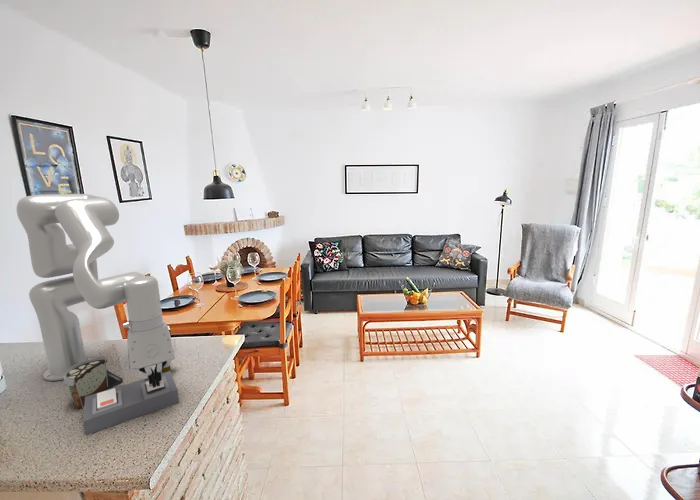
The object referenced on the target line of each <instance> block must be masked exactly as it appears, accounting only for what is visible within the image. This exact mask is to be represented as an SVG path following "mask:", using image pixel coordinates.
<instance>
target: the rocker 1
mask: <svg viewBox="0 0 700 500" xmlns="http://www.w3.org/2000/svg"><path fill="white" fill-rule="evenodd" d="M115 388H116V387H113V388H111V389H110V390H106V391H103V392H100V393H97V408H98V411H99V410H102V409H105V408H108V407H111V406H114V405H117V398H116V389H115Z"/></svg>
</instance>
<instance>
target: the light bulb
mask: <svg viewBox="0 0 700 500" xmlns="http://www.w3.org/2000/svg"><path fill="white" fill-rule="evenodd" d="M173 353H174V354H175V349H174V348H173ZM171 365H172V361H170V362H168V363H166V365H165V366H164V367H163V368H162V371H161V374H162V373H165V372H168V371H171V370H172V369H171V368H172V367H171Z"/></svg>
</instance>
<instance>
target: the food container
mask: <svg viewBox="0 0 700 500" xmlns="http://www.w3.org/2000/svg"><path fill="white" fill-rule="evenodd" d="M108 362H109V361H108V359H107V357H106V356H100V357H94V358H89V360H86V361H83V362H80V363H78V364H76V365H74V366H72V367H71V368H69V369H68V370H67V371H66V373H65V375H64V380H63V383H64V385H66V386H68V389H69V392H70V396H71V398H72V400H73V403H74V407H76V408H77V409H83V410H84V404H85V397H86V396H90V395H93V394H96V393H99V392H103V389H105V388H106V387H108V379H107V371H108V370H107V368H108V367H107V363H108Z"/></svg>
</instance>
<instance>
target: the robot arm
mask: <svg viewBox="0 0 700 500" xmlns="http://www.w3.org/2000/svg"><path fill="white" fill-rule="evenodd" d="M16 215H17V218H18V221H20V224H21V225H22V227H23V229H24V230H25V233H26V235H27V240H28V247H29V255H30V260H31V268H32V270H33V272H34V274H35V275H36V277H38V278H42V279H46V278H47V279H49V278H54V277H60V278H55V279H50V280H45V281H42V282H40V283H37V284H36V285H33V287H31V289H30V290H29V293H28V296H29V300H30V303H31V305H32V308H33V309H34V311H35V314H36V317H37V320H38V323H39V329H40V333H41V338H42V342H43V343H42V344H43V347H44V351H45V356H46V360H47V361H46V362H47V365H48V368H47V369H45V371H44V373H43V379H44V380H46V381H49V382H54V381H64V375H65V373H66V371H67V370H68V369H69V368H71V367H72V366H74V365H76V364H78V363H80V362H83V361H86V360H89V359H90V358H88V357H86V351H85V347H84V341H83V337H82V336H83V335H82V330H81V324H80V319H79V317H78V315H77V314H76V313H74V312H72V311H71V310H69V309H68V307H71V306H74V305H77V304H80V303H84V302H86V303H87V304H88V306H90V307H91V308H93V309H96V310H101V309H106V308H110V307H115V306H116V305H120V304H123V303H126V308H127V314H128V315H127V316H128V320H127V322H124V323H122V326H123V329H128V331H127V332H128V333H127V336H126V337H127V338H126V339H127V340H126V342H127V345H126V346H127V353H128V356H127V357H128V362H129V372H131V373H134V372H141V373H144V374H145V375H147V378H148V379H149V385H150V384H152V385H153V388H154V387H156V385H157V386H160V383H159V381H162V377H161V374H162V368H163V367H164V366H165V365H166V363H168V362H170V361H171V362H172V361H174V360H175V358H176V357H175V352H174V353H173V349H174V346H173V342H172V337H171V333H170V329H169V325H168V324H167V323H166V322H165V321H164V317H163V311H162V304H161V297H160V289H159V283H158V279H157V278H156V277H154V276H150V275H144V274H142V273H140V272H138V271H130V272H126V273H123V274H116V275H113V276H109V277H108V276H107V277H104V278H101V279H99V274H98V273H99V271H98V260H97V259H99V258H100V257H102V256H104V255H105V254H106V253H108V252H109V251H110V250H111V249H112V248H113V247H114V245H115V240H114V238H113V236H112V235H111V234H110V231H108V229H107V227H108V226H114V225H115V224H117V223H118V221H119V218H120V213H119V209H118V208H117V206H116V204H115V203H114V202H113V201H111V200H110V199H108V198H106V197H103V196H99V195H98V196H97V195H92V194H87V193H73V194H72V193H70V194H69V193H67V194H66V193H63V194H62V193H60V194H59V193H57V194H54V193H53V194H52V193H51V194H48V193H47V194H35V195H27V196H24V197H21V198H20V199H19V200H18V202H17V204H16ZM65 233H66V234H65ZM66 235H67V236H68V239H70V241H71V243H69V244H67V239H66ZM70 274H72V275H70ZM65 275H66V276H65ZM67 275H69V276H67ZM61 276H65V277H61ZM129 329H130V330H129ZM151 366H155V367H154V369H153V368H152V367H151ZM155 381H156V382H155Z"/></svg>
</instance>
